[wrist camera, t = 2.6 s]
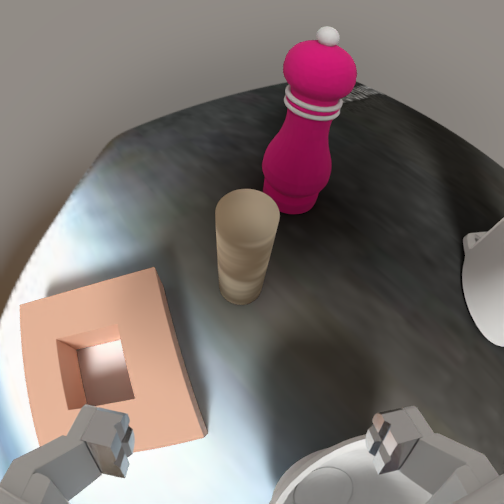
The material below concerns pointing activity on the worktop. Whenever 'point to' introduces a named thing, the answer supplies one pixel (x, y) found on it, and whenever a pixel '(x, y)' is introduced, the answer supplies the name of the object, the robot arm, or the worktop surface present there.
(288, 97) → the pepper mill
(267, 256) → the maple pin
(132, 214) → the worktop surface
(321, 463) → the teacup
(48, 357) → the socket block
